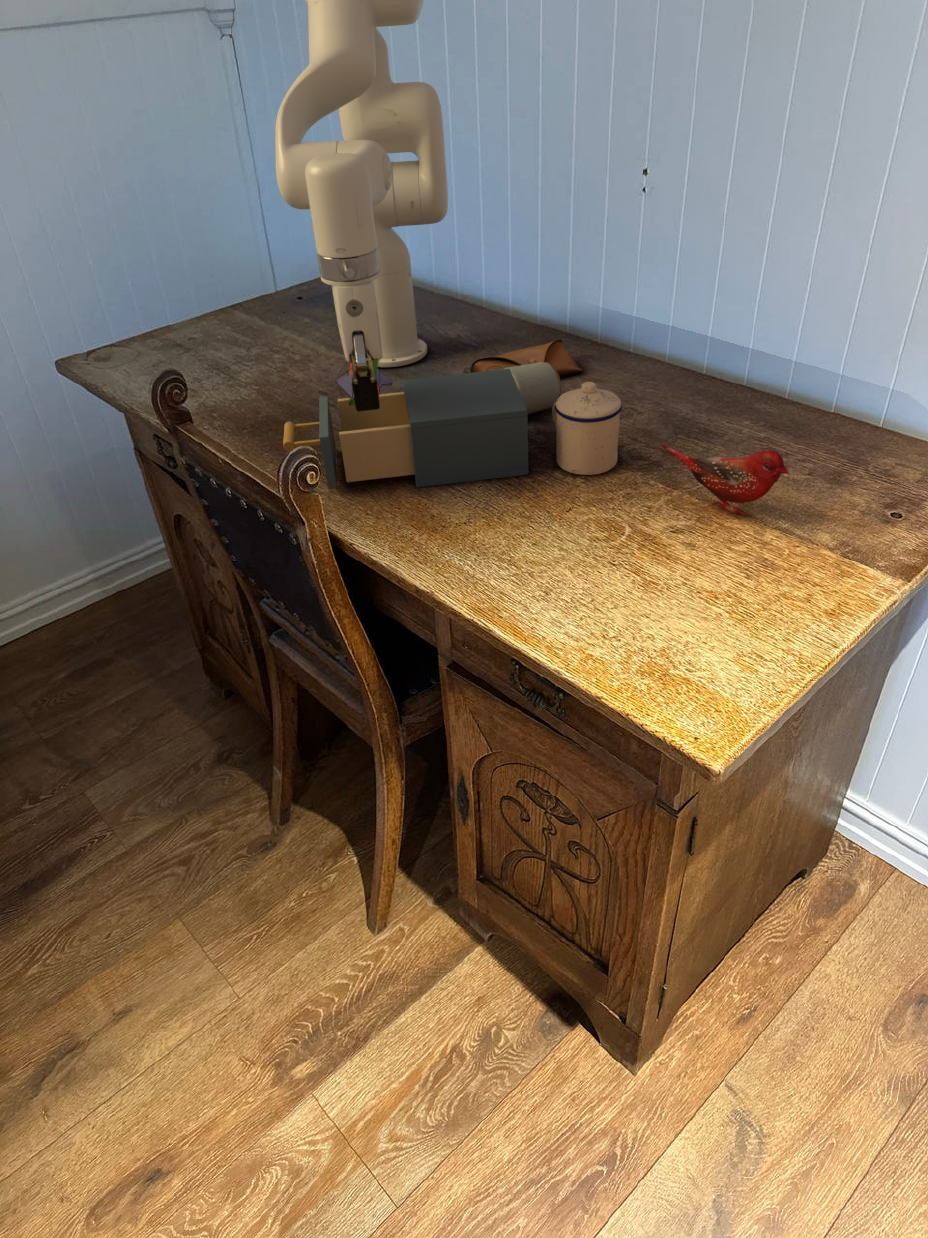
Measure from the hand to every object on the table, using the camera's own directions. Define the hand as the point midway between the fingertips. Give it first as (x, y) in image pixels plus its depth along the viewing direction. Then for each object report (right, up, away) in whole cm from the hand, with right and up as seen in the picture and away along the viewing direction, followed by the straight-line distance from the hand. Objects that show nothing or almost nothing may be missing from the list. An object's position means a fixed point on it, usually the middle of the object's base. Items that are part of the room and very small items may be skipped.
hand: (366, 396), depth 124 cm
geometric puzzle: (0, -1, 0) cm, 1 cm away
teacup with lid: (+30, -8, +6) cm, 32 cm away
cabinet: (+14, -7, +8) cm, 17 cm away
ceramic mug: (+23, +3, +19) cm, 30 cm away
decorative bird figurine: (+46, -16, -7) cm, 49 cm away
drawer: (-2, -8, +6) cm, 10 cm away
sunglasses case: (+24, +10, +29) cm, 39 cm away
